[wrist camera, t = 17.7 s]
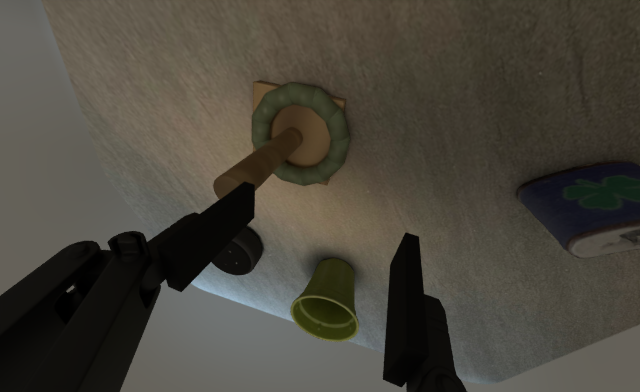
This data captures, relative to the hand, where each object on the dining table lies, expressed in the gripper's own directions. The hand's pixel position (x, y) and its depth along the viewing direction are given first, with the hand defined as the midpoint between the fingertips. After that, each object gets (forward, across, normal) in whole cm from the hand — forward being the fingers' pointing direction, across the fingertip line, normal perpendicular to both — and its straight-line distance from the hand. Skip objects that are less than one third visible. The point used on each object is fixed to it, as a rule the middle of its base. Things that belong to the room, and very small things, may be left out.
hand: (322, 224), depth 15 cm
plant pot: (+15, +1, -21) cm, 26 cm away
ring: (+12, -6, +1) cm, 14 cm away
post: (+14, -8, 0) cm, 16 cm away
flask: (+16, +21, +2) cm, 27 cm away
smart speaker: (+14, -16, -21) cm, 30 cm away
